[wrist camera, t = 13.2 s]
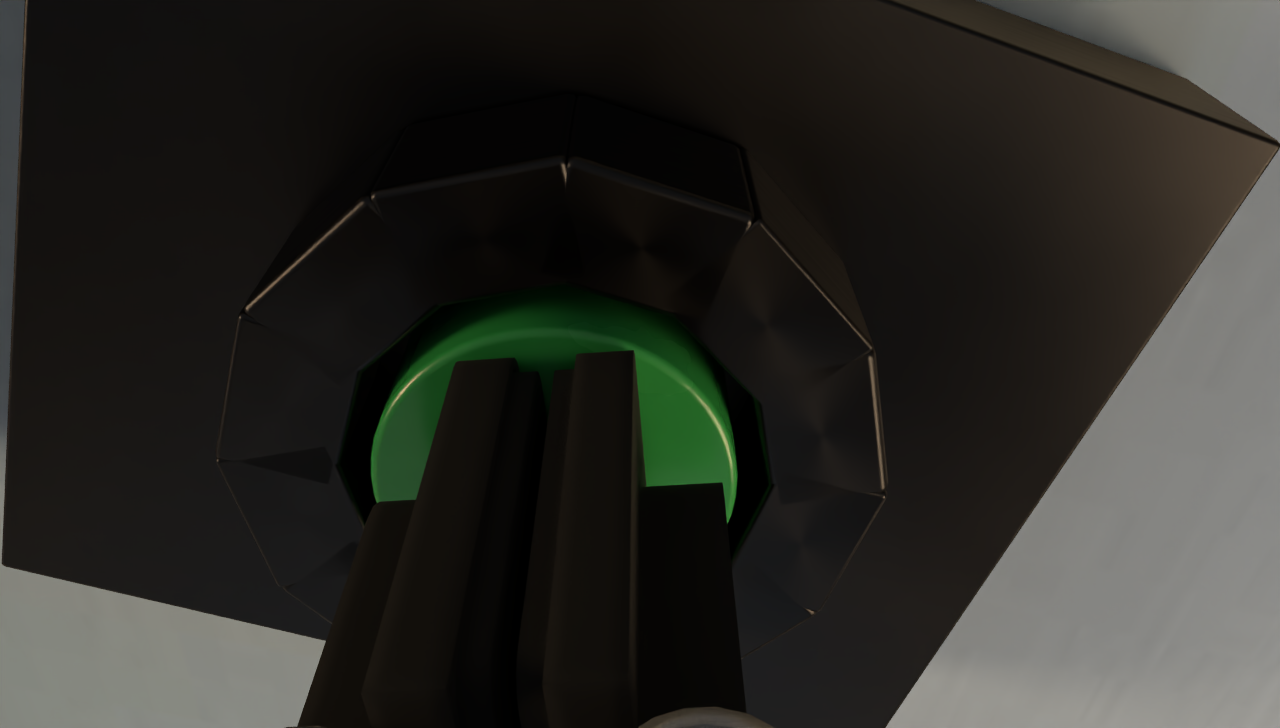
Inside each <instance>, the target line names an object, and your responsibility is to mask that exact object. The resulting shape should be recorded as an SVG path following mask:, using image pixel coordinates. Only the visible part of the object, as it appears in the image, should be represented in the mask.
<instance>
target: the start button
mask: <svg viewBox="0 0 1280 728" xmlns="http://www.w3.org/2000/svg"><path fill="white" fill-rule="evenodd" d="M628 350H634V353H635V360H636V371H637V383H638V394H639V405H640V417H641V428H642V440H643V451H644V462H645V474H646V485H647V487H649V486H667V485H684V484H702V483H720V482H722V483H723V489H724V497H725V507H726V516H727V524H728V522H729V519H730V517H731V514H732V512H733V507H734V503H735V499H736V494H737V479H738V472H737V463H736V454H735V446H734V438H733V430H732V423H731V415H730V407H729V399H728V392H727V384H726V376H725V369H724V367H723V366H722V365H721V364H720V363H719V362H718V361H717V360H716V359H715V358H714V357H713V356H712V355H711V354H710V353H709V352H708V351H707V350H706V349H705V348H704V347H703V346H702V345H701V344H700V343H699V342H698V341H697V340H696V339H695V338H694V337H693V336H692V335H691V334H690V333H689V332H688V331H687V330H686V329H685V328H684V327H683V326H682V325H681V323H680V322H679V321H678V320H677V319H676V318H673V317H670V316H667V315H663V314H660V313H657V312H653V311H650V310H647V309H643V308H640V307H637V306H633V305H630V304H627V303H623V302H620V301H617V300H613V299H610V298H607V297H603V296H600V295H597V294H593V293H590V292H587V291H583V290H580V289H577V288H573V287H570V286H567V285H558V286H552V287H547V288H541V289H536V290H530V291H524V292H519V293H513V294H507V295H502V296H496V297H491V298H485V299H479V300H474V301H468V302H462V303H457V304H451V305H446V306H442V307H441V308H440V309H439V310H437V311H436V312H435V313H434V314H433V315H431V316H430V317H429V318H428V319H427V320H425V321H424V322H423V323H422V324H421V325H420V326H418V327H417V328H416V329H415V330H414V331H412V333H411V335H410V338H409V340H408V343H407V346H406V349H405V351H404V354H403V357H402V360H401V363H400V365H399V368H398V371H397V374H396V376H395V379H394V382H393V385H392V387H391V390H390V393H389V396H388V398H387V401H386V404H385V407H384V410H383V412H382V415H381V418H380V421H379V424H378V426H377V429H376V432H375V435H374V439H373V445H372V451H371V480H372V486H373V492H374V496H375V499H376V502H377V503H378V502H381V501H399V500H416V497H417V494H418V490H419V487H420V483H421V480H422V476H423V473H424V469H425V466H426V462H427V459H428V455H429V452H430V448H431V445H432V441H433V438H434V434H435V431H436V427H437V423H438V420H439V416H440V413H441V409H442V406H443V402H444V399H445V395H446V392H447V388H448V385H449V381H450V378H451V374H452V371H453V367H454V365H455V363H456V362H457V361H465V360H481V359H497V358H514V357H515V359H516V360H517V363H518V366H519V372H532V371H538V373H539V375H540V379H541V384H542V391H543V398H544V404H545V411H546V418H547V423H548V415H549V407H550V400H551V392H552V385H553V377H554V372H555V370H565V369H574V368H575V359H576V354H579V353H595V352H612V351H628Z"/></svg>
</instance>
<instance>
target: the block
mask: <svg viewBox="0 0 1280 728" xmlns="http://www.w3.org/2000/svg"><path fill="white" fill-rule="evenodd" d="M1279 148H1280V143H1279V142H1278V141H1277V140H1276V139H1274V138H1273V137H1271V136H1270V135H1268V134H1267V133H1265V132H1264V131H1262V130H1261V129H1260V128H1258V127H1257V126H1255V125H1254V124H1252V123H1251V122H1249V121H1248V120H1246V119H1245V118H1243V117H1242V116H1240V115H1239V114H1238V113H1236V112H1235V111H1233V110H1232V109H1230V108H1229V107H1227V106H1226V105H1224V104H1223V103H1221V102H1220V101H1219V100H1217V99H1216V98H1214V97H1213V96H1211V95H1210V94H1208V93H1207V92H1205V91H1204V90H1202V89H1201V88H1199V87H1198V86H1197V85H1195V84H1194V83H1192V82H1191V81H1189V80H1188V79H1186V78H1183V77H1180V76H1178V75H1175V74H1172V73H1169V72H1167V71H1164V70H1161V69H1159V68H1156V67H1153V66H1151V65H1148V64H1145V63H1143V62H1140V61H1137V60H1134V59H1132V58H1129V57H1126V56H1124V55H1121V54H1118V53H1116V52H1113V51H1110V50H1108V49H1105V48H1102V47H1100V46H1097V45H1094V44H1091V43H1089V42H1086V41H1083V40H1081V39H1078V38H1075V37H1073V36H1070V35H1067V34H1065V33H1062V32H1059V31H1056V30H1054V29H1051V28H1048V27H1046V26H1043V25H1040V24H1038V23H1035V22H1032V21H1030V20H1027V19H1024V18H1021V17H1019V16H1016V15H1013V14H1011V13H1008V12H1005V11H1003V10H1000V9H997V8H995V7H992V6H989V5H986V4H984V3H981V2H978V1H976V0H25V14H24V38H23V63H22V87H21V111H20V135H19V159H18V184H17V208H16V232H15V256H14V281H13V305H12V329H11V353H10V377H9V402H8V426H7V450H6V474H5V499H4V523H3V547H2V564H3V565H4V566H6V567H10V568H14V569H19V570H23V571H27V572H32V573H36V574H40V575H45V576H49V577H53V578H57V579H62V580H66V581H70V582H75V583H79V584H83V585H88V586H92V587H96V588H101V589H105V590H109V591H113V592H118V593H122V594H126V595H131V596H135V597H139V598H144V599H148V600H152V601H157V602H161V603H165V604H170V605H174V606H178V607H182V608H187V609H191V610H195V611H200V612H204V613H208V614H213V615H217V616H221V617H226V618H230V619H234V620H239V621H243V622H247V623H251V624H256V625H260V626H264V627H269V628H273V629H277V630H282V631H286V632H290V633H295V634H299V635H303V636H308V637H312V638H316V639H320V640H325V641H326V640H327V637H328V634H329V631H330V628H331V625H332V622H333V619H334V616H335V613H336V610H337V607H338V604H339V601H340V598H341V595H342V592H343V589H344V586H345V584H346V581H347V578H348V575H349V572H350V569H351V566H352V563H353V560H354V557H355V554H356V551H357V548H358V545H359V542H360V539H361V536H362V533H363V530H364V527H365V524H366V521H367V518H368V516H369V514H370V512H371V510H372V508H373V506H374V505H375V504H377V502H376V499H375V496H374V492H373V486H372V480H371V451H372V445H373V439H374V435H375V432H376V429H377V426H378V424H379V421H380V418H381V415H382V412H383V410H384V407H385V404H386V401H387V398H388V396H389V393H390V390H391V387H392V385H393V382H394V379H395V376H396V374H397V371H398V368H399V365H400V363H401V360H402V357H403V354H404V351H405V349H406V346H407V343H408V340H409V338H410V335H411V333H412V331H414V330H415V329H416V328H417V327H418V326H420V325H421V324H422V323H423V322H424V321H425V320H427V319H428V318H429V317H430V316H431V315H433V314H434V313H435V312H436V311H437V310H439V309H440V308H441V307H442V306H446V305H451V304H457V303H462V302H468V301H474V300H479V299H485V298H491V297H496V296H502V295H507V294H513V293H519V292H524V291H530V290H536V289H541V288H547V287H552V286H558V285H567V286H570V287H573V288H577V289H580V290H583V291H587V292H590V293H593V294H597V295H600V296H603V297H607V298H610V299H613V300H617V301H620V302H623V303H627V304H630V305H633V306H637V307H640V308H643V309H647V310H650V311H653V312H657V313H660V314H663V315H667V316H670V317H673V318H676V319H677V320H678V321H679V322H680V323H681V325H682V326H683V327H684V328H685V329H686V330H687V331H688V332H689V333H690V334H691V335H692V336H693V337H694V338H695V339H696V340H697V341H698V342H699V343H700V344H701V345H702V346H703V347H704V348H705V349H706V350H707V351H708V352H709V353H710V354H711V355H712V356H713V357H714V358H715V359H716V360H717V361H718V362H719V363H720V364H721V365H722V366H723V367H724V369H725V376H726V384H727V392H728V399H729V407H730V415H731V423H732V430H733V438H734V446H735V454H736V463H737V472H738V479H737V494H736V499H735V503H734V507H733V512H732V514H731V517H730V519H729V522H728V524H727V526H728V536H729V546H730V555H731V565H732V575H733V585H734V595H735V604H736V614H737V624H738V634H739V643H740V653H741V663H742V673H743V682H744V692H745V702H746V712H747V713H748V714H750V715H752V716H753V717H755V718H757V719H759V720H761V721H763V722H765V723H767V724H769V725H771V726H773V727H775V728H885V727H886V726H887V724H888V723H889V721H890V720H891V718H892V717H893V716H894V714H895V713H896V711H897V710H898V708H899V707H900V705H901V704H902V702H903V701H904V699H905V698H906V696H907V695H908V694H909V692H910V691H911V689H912V688H913V686H914V685H915V683H916V682H917V680H918V679H919V677H920V676H921V674H922V673H923V671H924V670H925V669H926V667H927V666H928V664H929V663H930V661H931V660H932V658H933V657H934V655H935V654H936V652H937V651H938V649H939V648H940V646H941V645H942V644H943V642H944V641H945V639H946V638H947V636H948V635H949V633H950V632H951V630H952V629H953V627H954V626H955V624H956V623H957V622H958V620H959V619H960V617H961V616H962V614H963V613H964V611H965V610H966V608H967V607H968V605H969V604H970V602H971V601H972V599H973V598H974V597H975V595H976V594H977V592H978V591H979V589H980V588H981V586H982V585H983V583H984V582H985V580H986V579H987V577H988V576H989V575H990V573H991V572H992V570H993V569H994V567H995V566H996V564H997V563H998V561H999V560H1000V558H1001V557H1002V555H1003V554H1004V552H1005V551H1006V550H1007V548H1008V547H1009V545H1010V544H1011V542H1012V541H1013V539H1014V538H1015V536H1016V535H1017V533H1018V532H1019V530H1020V529H1021V527H1022V526H1023V525H1024V523H1025V522H1026V520H1027V519H1028V517H1029V516H1030V514H1031V513H1032V511H1033V510H1034V508H1035V507H1036V505H1037V504H1038V503H1039V501H1040V500H1041V498H1042V497H1043V495H1044V494H1045V492H1046V491H1047V489H1048V488H1049V486H1050V485H1051V483H1052V482H1053V480H1054V479H1055V478H1056V476H1057V475H1058V473H1059V472H1060V470H1061V469H1062V467H1063V466H1064V464H1065V463H1066V461H1067V460H1068V458H1069V457H1070V455H1071V454H1072V453H1073V451H1074V450H1075V448H1076V447H1077V445H1078V444H1079V442H1080V441H1081V439H1082V438H1083V436H1084V435H1085V433H1086V432H1087V431H1088V429H1089V428H1090V426H1091V425H1092V423H1093V422H1094V420H1095V419H1096V417H1097V416H1098V414H1099V413H1100V411H1101V410H1102V408H1103V407H1104V406H1105V404H1106V403H1107V401H1108V400H1109V398H1110V397H1111V395H1112V394H1113V392H1114V391H1115V389H1116V388H1117V386H1118V385H1119V384H1120V382H1121V381H1122V379H1123V378H1124V376H1125V375H1126V373H1127V372H1128V370H1129V369H1130V367H1131V366H1132V364H1133V363H1134V361H1135V360H1136V359H1137V357H1138V356H1139V354H1140V353H1141V351H1142V350H1143V348H1144V347H1145V345H1146V344H1147V342H1148V341H1149V339H1150V338H1151V336H1152V335H1153V334H1154V332H1155V331H1156V329H1157V328H1158V326H1159V325H1160V323H1161V322H1162V320H1163V319H1164V317H1165V316H1166V314H1167V313H1168V312H1169V310H1170V309H1171V307H1172V306H1173V304H1174V303H1175V301H1176V300H1177V298H1178V297H1179V295H1180V294H1181V292H1182V291H1183V289H1184V288H1185V287H1186V285H1187V284H1188V282H1189V281H1190V279H1191V278H1192V276H1193V275H1194V273H1195V272H1196V270H1197V269H1198V267H1199V266H1200V264H1201V263H1202V262H1203V260H1204V259H1205V257H1206V256H1207V254H1208V253H1209V251H1210V250H1211V248H1212V247H1213V245H1214V244H1215V242H1216V241H1217V240H1218V238H1219V237H1220V235H1221V234H1222V232H1223V231H1224V229H1225V228H1226V226H1227V225H1228V223H1229V222H1230V220H1231V219H1232V217H1233V216H1234V215H1235V213H1236V212H1237V210H1238V209H1239V207H1240V206H1241V204H1242V203H1243V201H1244V200H1245V198H1246V197H1247V195H1248V194H1249V193H1250V191H1251V190H1252V188H1253V187H1254V185H1255V184H1256V182H1257V181H1258V179H1259V178H1260V176H1261V175H1262V173H1263V172H1264V170H1265V169H1266V168H1267V166H1268V165H1269V163H1270V162H1271V160H1272V159H1273V157H1274V156H1275V154H1276V153H1277V151H1278V150H1279Z"/></svg>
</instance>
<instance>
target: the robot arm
mask: <svg viewBox="0 0 1280 728" xmlns="http://www.w3.org/2000/svg"><path fill="white" fill-rule="evenodd" d="M286 728H775V727H773V726H771V725H769V724H767V723H765V722H763V721H761V720H759V719H757V718H755V717H753V716H752V715H750V714H748V713H747V712H746V702H745V692H744V682H743V673H742V663H741V653H740V643H739V634H738V624H737V614H736V604H735V595H734V585H733V575H732V565H731V555H730V546H729V536H728V526H727V516H726V507H725V497H724V489H723V483H722V482H720V483H702V484H684V485H667V486H649V487H647V485H646V474H645V462H644V451H643V440H642V428H641V417H640V405H639V394H638V383H637V371H636V360H635V353H634V350H628V351H612V352H595V353H579V354H576V359H575V368H574V369H565V370H555V372H554V377H553V385H552V392H551V400H550V407H549V415H548V423H547V418H546V411H545V404H544V398H543V391H542V384H541V379H540V375H539V373H538V371H532V372H519V366H518V363H517V360H516V359H515V357H514V358H497V359H481V360H465V361H457V362H456V363H455V365H454V367H453V371H452V374H451V378H450V381H449V385H448V388H447V392H446V395H445V399H444V402H443V406H442V409H441V413H440V416H439V420H438V423H437V427H436V431H435V434H434V438H433V441H432V445H431V448H430V452H429V455H428V459H427V462H426V466H425V469H424V473H423V476H422V480H421V483H420V487H419V490H418V494H417V497H416V500H399V501H381V502H378V503H377V504H375V505H374V506H373V508H372V510H371V512H370V514H369V516H368V518H367V521H366V524H365V527H364V530H363V533H362V536H361V539H360V542H359V545H358V548H357V551H356V554H355V557H354V560H353V563H352V566H351V569H350V572H349V575H348V578H347V581H346V584H345V586H344V589H343V592H342V595H341V598H340V601H339V604H338V607H337V610H336V613H335V616H334V619H333V622H332V625H331V628H330V631H329V634H328V637H327V640H326V643H325V646H324V649H323V652H322V655H321V658H320V661H319V664H318V667H317V670H316V673H315V676H314V679H313V682H312V685H311V687H310V690H309V693H308V696H307V699H306V702H305V705H304V708H303V711H302V714H301V717H300V720H299V723H298V726H297V727H286Z"/></svg>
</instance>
